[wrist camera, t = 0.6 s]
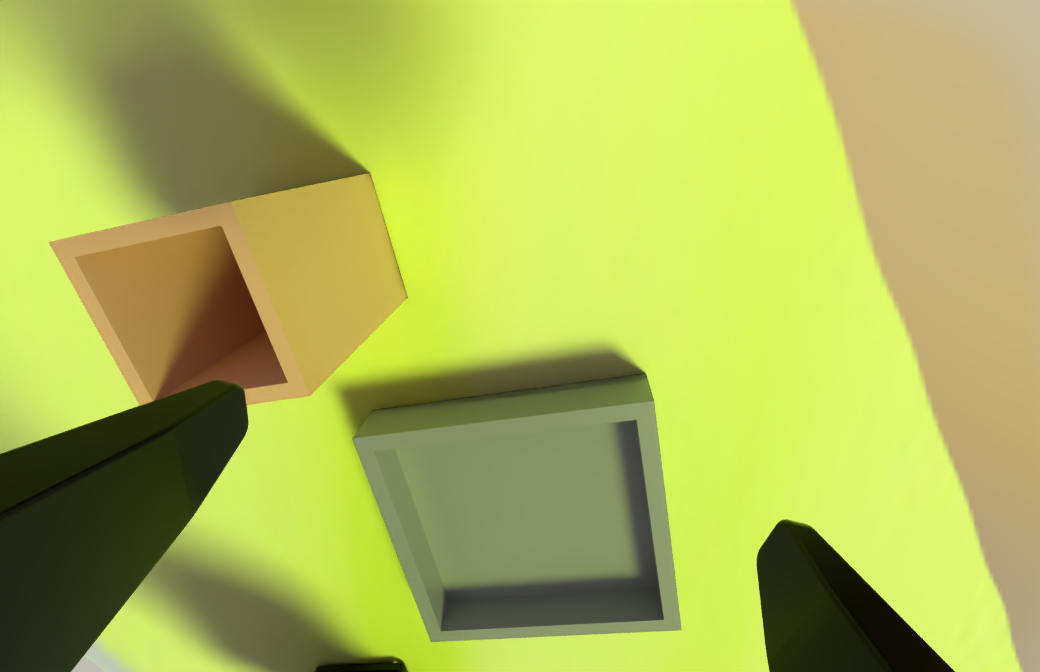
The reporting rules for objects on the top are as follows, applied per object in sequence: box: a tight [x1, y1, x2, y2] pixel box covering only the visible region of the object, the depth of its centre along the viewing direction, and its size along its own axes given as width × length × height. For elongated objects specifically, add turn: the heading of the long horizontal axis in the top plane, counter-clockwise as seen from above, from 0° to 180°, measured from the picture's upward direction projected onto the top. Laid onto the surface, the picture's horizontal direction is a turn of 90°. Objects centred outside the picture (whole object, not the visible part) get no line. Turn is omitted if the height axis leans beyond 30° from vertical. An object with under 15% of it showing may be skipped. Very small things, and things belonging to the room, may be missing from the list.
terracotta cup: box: [49, 173, 408, 405], centre depth 18 cm, size 6×6×9 cm
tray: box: [352, 374, 681, 642], centre depth 25 cm, size 14×14×2 cm
